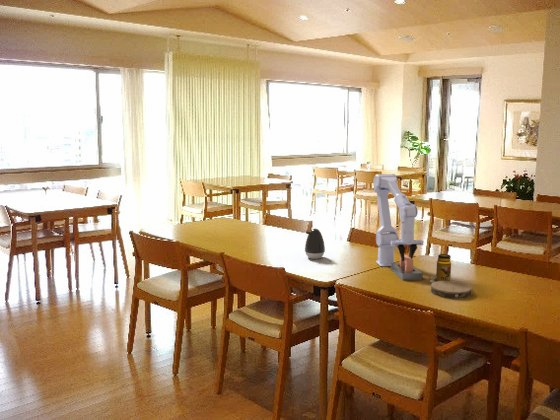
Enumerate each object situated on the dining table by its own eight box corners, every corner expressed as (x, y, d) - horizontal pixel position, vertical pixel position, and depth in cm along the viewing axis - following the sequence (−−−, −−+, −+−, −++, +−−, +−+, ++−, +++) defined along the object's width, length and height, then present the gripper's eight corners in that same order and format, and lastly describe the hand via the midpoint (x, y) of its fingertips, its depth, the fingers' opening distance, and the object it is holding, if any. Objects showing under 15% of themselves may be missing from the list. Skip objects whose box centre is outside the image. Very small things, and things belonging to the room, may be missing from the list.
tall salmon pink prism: (399, 267, 263) (399, 254, 262) (405, 267, 263) (406, 254, 262) (406, 273, 253) (406, 259, 252) (412, 272, 253) (413, 259, 252)
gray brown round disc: (425, 288, 239) (425, 281, 238) (462, 287, 240) (462, 280, 239) (438, 299, 223) (439, 292, 222) (477, 298, 224) (478, 291, 224)
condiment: (449, 284, 242) (450, 257, 240) (429, 282, 246) (430, 255, 244) (452, 280, 248) (454, 254, 246) (433, 278, 252) (434, 251, 250)
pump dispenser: (300, 256, 290) (301, 227, 288) (318, 254, 295) (318, 226, 292) (310, 261, 281) (311, 231, 279) (328, 258, 286) (329, 229, 283)
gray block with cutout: (390, 269, 266) (390, 263, 266) (409, 268, 267) (409, 262, 267) (402, 280, 249) (402, 273, 248) (422, 279, 249) (422, 273, 249)
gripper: (394, 233, 250) (393, 263, 252) (426, 232, 251) (425, 262, 254) (389, 230, 257) (389, 259, 259) (420, 229, 258) (419, 258, 260)
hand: (406, 260), depth 257 cm, fingers closed on tall salmon pink prism, 3 cm apart
